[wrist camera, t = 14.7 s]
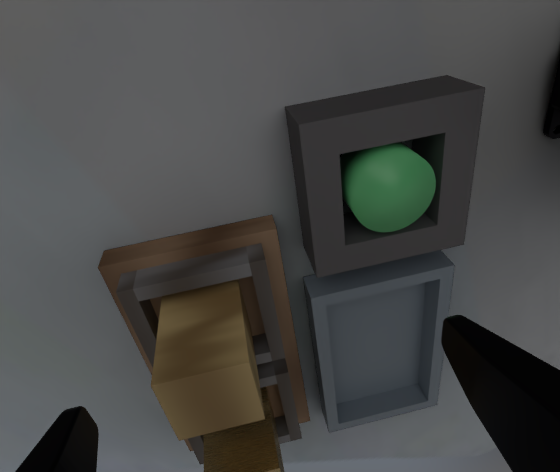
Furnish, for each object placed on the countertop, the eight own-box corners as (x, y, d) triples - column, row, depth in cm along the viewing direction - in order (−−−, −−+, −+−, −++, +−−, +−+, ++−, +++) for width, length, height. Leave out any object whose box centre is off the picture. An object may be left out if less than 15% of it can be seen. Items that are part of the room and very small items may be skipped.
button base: (446, 75, 19) (485, 87, 16) (435, 217, 23) (463, 244, 21) (285, 106, 18) (298, 124, 16) (303, 246, 23) (317, 277, 20)
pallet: (271, 214, 21) (302, 307, 15) (305, 403, 30) (333, 509, 24) (104, 250, 21) (62, 363, 14) (190, 431, 30) (188, 549, 23)
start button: (410, 126, 19) (439, 144, 17) (408, 198, 22) (432, 222, 19) (332, 143, 19) (350, 163, 17) (338, 213, 21) (354, 239, 19)
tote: (437, 246, 24) (454, 265, 23) (424, 383, 32) (437, 405, 30) (303, 277, 24) (310, 298, 22) (322, 409, 31) (328, 432, 29)
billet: (273, 410, 28) (290, 503, 23) (217, 424, 27) (221, 521, 22) (263, 374, 26) (279, 468, 20) (202, 389, 25) (204, 488, 20)
